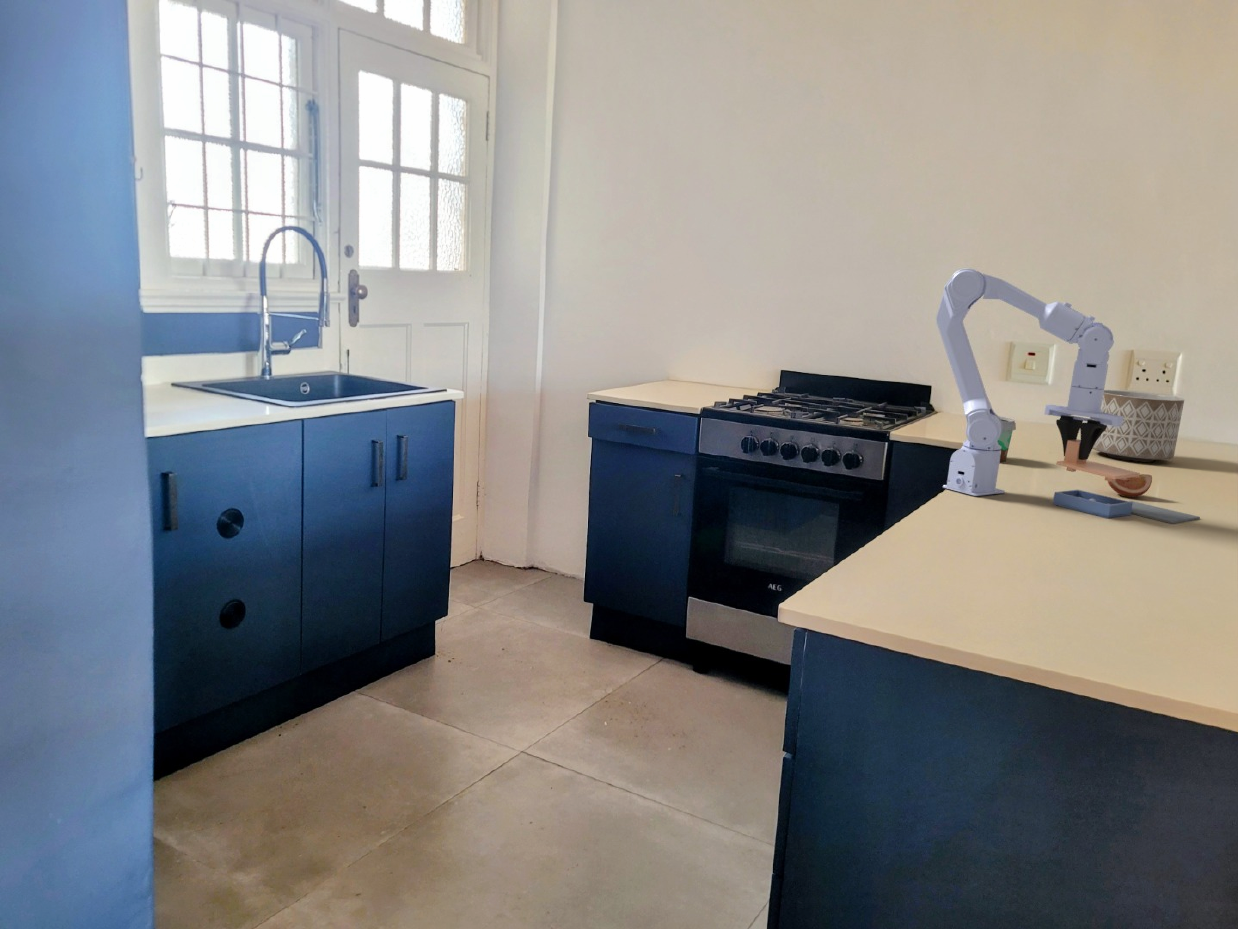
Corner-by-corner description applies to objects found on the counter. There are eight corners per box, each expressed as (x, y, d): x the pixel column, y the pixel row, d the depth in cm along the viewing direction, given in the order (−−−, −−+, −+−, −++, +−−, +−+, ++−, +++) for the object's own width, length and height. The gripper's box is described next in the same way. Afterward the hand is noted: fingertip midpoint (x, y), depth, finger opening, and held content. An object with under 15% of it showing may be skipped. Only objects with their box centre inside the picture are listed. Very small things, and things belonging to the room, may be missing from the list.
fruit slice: (1105, 496, 192) (1109, 472, 191) (1100, 490, 198) (1104, 467, 197) (1151, 502, 190) (1155, 477, 189) (1144, 495, 196) (1148, 472, 195)
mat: (1172, 523, 171) (1172, 521, 171) (1103, 506, 181) (1103, 504, 181) (1199, 518, 176) (1199, 516, 176) (1131, 502, 187) (1131, 500, 187)
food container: (1015, 465, 221) (1022, 423, 219) (988, 462, 222) (994, 421, 220) (1005, 456, 233) (1011, 416, 231) (979, 454, 234) (985, 414, 232)
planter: (1091, 458, 238) (1102, 394, 235) (1086, 447, 256) (1095, 387, 253) (1178, 468, 231) (1190, 402, 228) (1166, 457, 249) (1177, 395, 246)
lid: (1113, 484, 170) (1119, 454, 169) (1055, 469, 180) (1060, 440, 178) (1138, 480, 175) (1144, 452, 173) (1079, 466, 184) (1085, 438, 183)
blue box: (1108, 518, 172) (1110, 505, 171) (1052, 504, 181) (1054, 492, 180) (1130, 514, 176) (1132, 502, 175) (1075, 501, 185) (1077, 489, 184)
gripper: (1136, 392, 174) (1124, 464, 177) (1064, 382, 186) (1053, 449, 188) (1115, 392, 170) (1103, 466, 173) (1042, 382, 182) (1032, 451, 185)
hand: (1075, 457), depth 180 cm, fingers closed on lid, 2 cm apart
